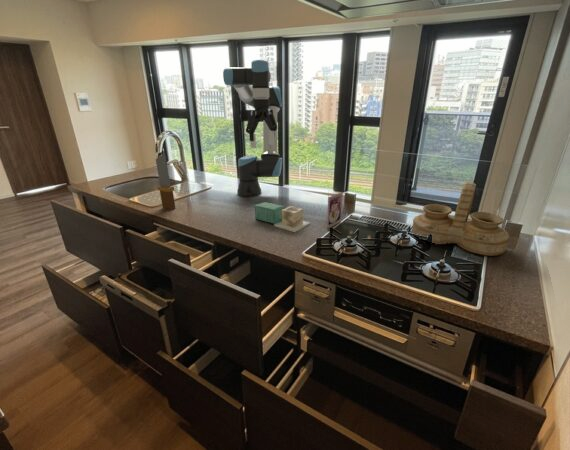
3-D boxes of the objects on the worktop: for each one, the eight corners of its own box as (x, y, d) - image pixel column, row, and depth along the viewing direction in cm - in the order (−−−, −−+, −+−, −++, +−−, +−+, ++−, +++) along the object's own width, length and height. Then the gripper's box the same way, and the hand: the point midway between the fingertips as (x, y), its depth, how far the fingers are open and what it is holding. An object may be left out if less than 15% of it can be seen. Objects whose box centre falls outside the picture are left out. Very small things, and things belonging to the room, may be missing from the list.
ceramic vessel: (405, 240, 124) (415, 182, 114) (415, 226, 138) (425, 173, 128) (504, 263, 106) (525, 196, 96) (504, 244, 120) (523, 184, 110)
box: (275, 224, 139) (274, 209, 136) (255, 219, 147) (253, 205, 144) (285, 220, 144) (284, 205, 141) (265, 215, 152) (264, 201, 150)
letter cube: (302, 222, 140) (302, 208, 138) (294, 227, 135) (294, 213, 132) (290, 219, 144) (290, 205, 142) (281, 224, 139) (281, 210, 136)
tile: (289, 218, 148) (289, 217, 148) (309, 224, 141) (309, 222, 141) (274, 226, 139) (274, 224, 139) (294, 232, 132) (294, 230, 132)
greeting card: (328, 229, 135) (330, 197, 129) (315, 225, 140) (316, 194, 134) (342, 222, 143) (344, 192, 137) (329, 218, 148) (331, 189, 142)
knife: (177, 208, 164) (168, 153, 152) (171, 210, 161) (162, 154, 149) (166, 206, 167) (157, 151, 156) (161, 208, 164) (151, 152, 153)
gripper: (272, 98, 147) (273, 142, 155) (235, 99, 128) (239, 148, 137) (284, 98, 143) (284, 143, 151) (248, 99, 124) (251, 150, 133)
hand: (262, 146), depth 144 cm, fingers open, 13 cm apart
